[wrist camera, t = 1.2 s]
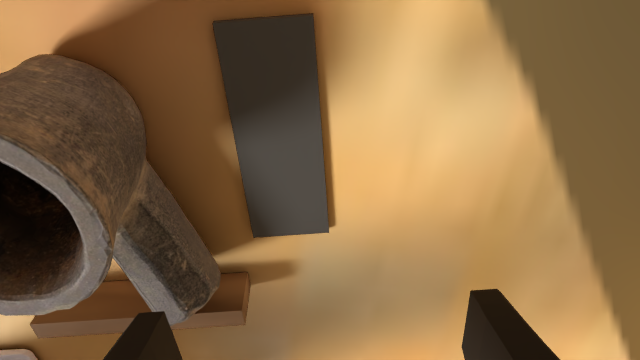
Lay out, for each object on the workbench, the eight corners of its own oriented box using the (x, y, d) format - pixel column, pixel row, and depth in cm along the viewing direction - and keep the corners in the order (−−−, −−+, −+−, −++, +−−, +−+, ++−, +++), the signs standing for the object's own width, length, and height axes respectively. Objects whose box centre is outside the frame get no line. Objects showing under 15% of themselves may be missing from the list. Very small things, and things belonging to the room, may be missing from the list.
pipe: (155, 274, 24) (96, 431, 17) (-41, 46, 17) (-264, 155, 10) (262, 237, 22) (243, 390, 16) (96, -23, 16) (-56, 49, 9)
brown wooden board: (250, 286, 24) (245, 324, 22) (61, 298, 24) (38, 338, 22) (170, -90, 15) (148, -84, 13) (-136, -65, 15) (-207, -55, 13)
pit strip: (328, 228, 22) (329, 232, 22) (254, 233, 22) (253, 237, 22) (313, 13, 17) (313, 15, 16) (213, 20, 17) (212, 23, 16)
